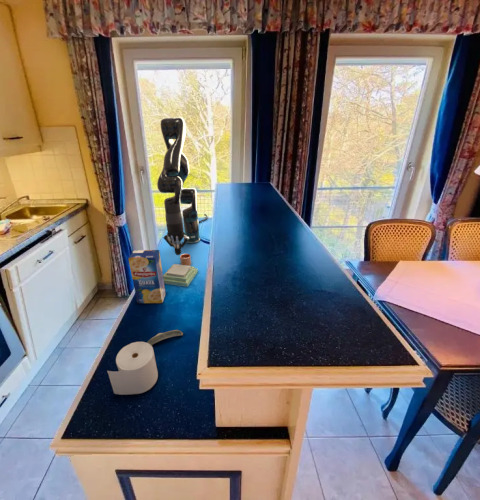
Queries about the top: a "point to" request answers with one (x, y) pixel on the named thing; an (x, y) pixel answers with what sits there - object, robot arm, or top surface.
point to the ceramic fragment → (164, 336)
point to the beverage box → (147, 276)
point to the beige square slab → (178, 270)
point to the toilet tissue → (134, 369)
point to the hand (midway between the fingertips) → (178, 254)
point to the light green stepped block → (180, 278)
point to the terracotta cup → (185, 259)
